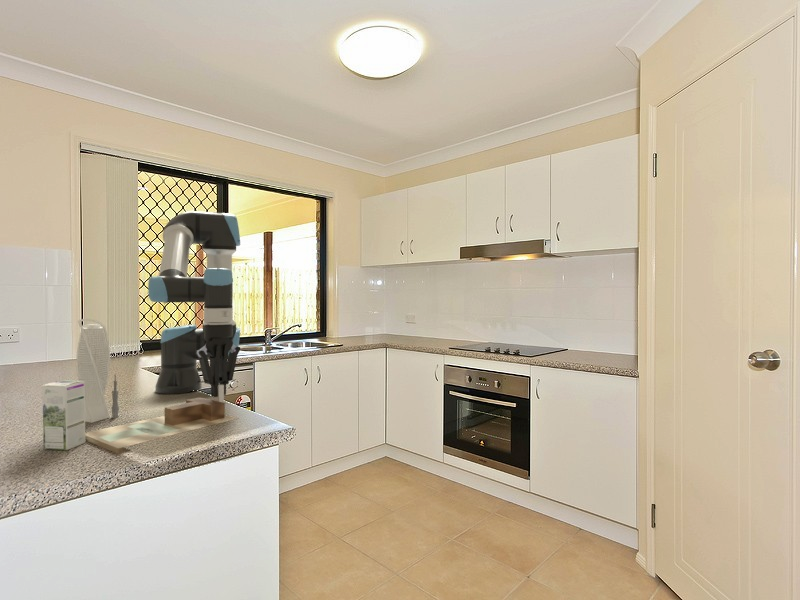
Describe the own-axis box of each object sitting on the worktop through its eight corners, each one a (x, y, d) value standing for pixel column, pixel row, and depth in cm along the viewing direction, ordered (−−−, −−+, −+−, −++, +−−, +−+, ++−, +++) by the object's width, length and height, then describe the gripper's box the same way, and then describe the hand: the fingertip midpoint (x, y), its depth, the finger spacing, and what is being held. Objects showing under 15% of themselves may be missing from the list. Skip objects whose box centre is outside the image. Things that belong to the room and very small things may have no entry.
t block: (199, 411, 129) (199, 397, 129) (224, 417, 122) (224, 402, 122) (156, 420, 119) (156, 405, 119) (181, 428, 112) (181, 412, 112)
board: (198, 412, 133) (198, 408, 133) (239, 422, 122) (239, 418, 122) (81, 438, 108) (81, 433, 108) (118, 454, 97) (118, 448, 97)
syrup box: (86, 442, 105) (86, 379, 105) (65, 451, 99) (65, 384, 99) (63, 441, 106) (63, 379, 106) (41, 450, 100) (41, 384, 100)
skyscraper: (94, 429, 116) (94, 319, 116) (67, 427, 118) (67, 319, 117) (120, 420, 124) (120, 317, 124) (95, 418, 126) (95, 317, 126)
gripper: (204, 325, 120) (205, 414, 120) (246, 322, 131) (246, 405, 131) (188, 324, 124) (189, 410, 124) (230, 322, 135) (230, 401, 135)
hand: (218, 407), depth 127 cm, fingers closed
